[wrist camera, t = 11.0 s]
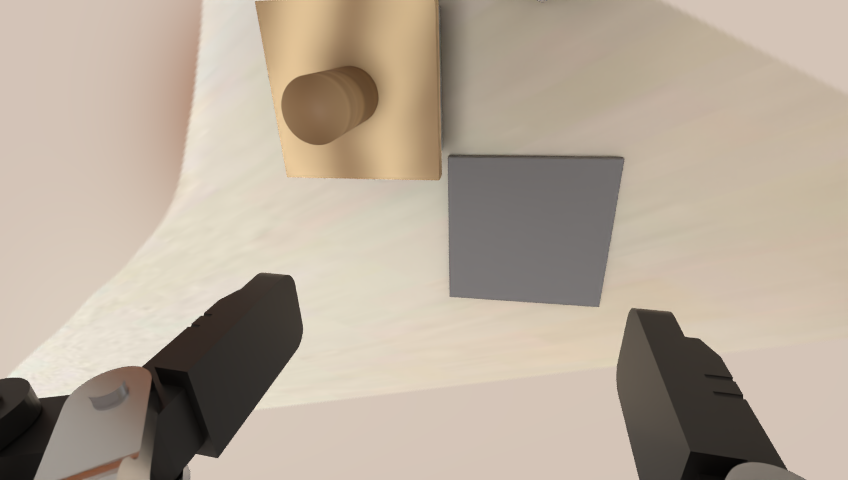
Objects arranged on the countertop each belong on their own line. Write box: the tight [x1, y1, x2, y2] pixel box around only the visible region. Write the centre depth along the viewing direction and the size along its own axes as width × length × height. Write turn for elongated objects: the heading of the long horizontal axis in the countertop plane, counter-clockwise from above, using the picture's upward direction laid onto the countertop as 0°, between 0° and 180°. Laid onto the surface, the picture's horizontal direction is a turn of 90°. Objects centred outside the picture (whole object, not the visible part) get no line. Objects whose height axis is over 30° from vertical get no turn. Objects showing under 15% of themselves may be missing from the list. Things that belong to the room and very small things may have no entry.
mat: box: [448, 156, 624, 307], centre depth 35 cm, size 13×13×1 cm
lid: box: [255, 0, 442, 180], centre depth 25 cm, size 11×11×7 cm
